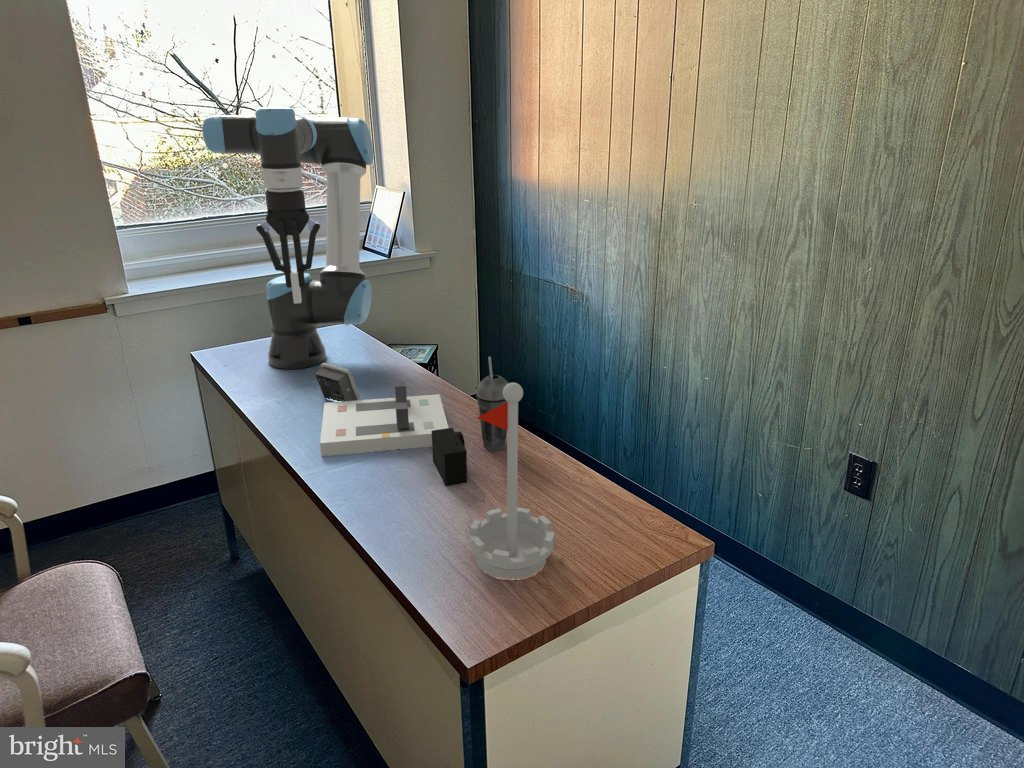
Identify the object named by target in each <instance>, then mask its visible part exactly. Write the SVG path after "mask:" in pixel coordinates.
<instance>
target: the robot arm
mask: <svg viewBox="0 0 1024 768" xmlns="http://www.w3.org/2000/svg"><path fill="white" fill-rule="evenodd" d="M254 113H255V115H222V114H219V115H208V116H207V117H205V118H204V120H203V123H202V137H203V142H204V144H205V146H206V148H207V149H208V150H209V151H210V152H211V153H214V154H224V155H228V154H241V155H246V154H250V155H260V156H259V157H260V163H261V170H262V172H261V173H262V180H263V187H264V188H265V189H267V190H266V191H265V193H264V194H265V203H266V209H267V210H266V211H267V212H266V217H265V220H264V221H262V222H261V223H258V224H257V225H256V228H255V230H256V231H257V233H258V234H259V235H260V236H261V237H262V240H263V242H264V244H265V247H266V249H267V252H268V254H269V257H270V260H271V262H272V265H273V267H274V269H275V271H277V272H278V271H279V272H283V274H284V275H281V276H278V277H274V278H272V279H270V280H269V281H268V282H267V284H266V286H265V288H266V290H265V291H266V302H267V309H268V315H269V323H270V327H271V328H270V330H271V337H270V344H269V347H268V354H267V358H268V359H267V360H268V364H269V365H270V366H271V367H274V368H277V369H283V370H297V369H304V368H305V369H306V368H309V367H314V366H317V365H318V364H322V363H324V362H325V360H326V358H327V354H326V348H325V346H324V343H323V341H322V339H321V336H320V335H319V332H318V329H317V325H345V326H349V325H360V324H363V323H364V322H365V321H366V320H367V319H368V316H369V313H370V310H371V306H372V300H373V299H372V297H373V292H372V291H373V290H372V284H371V282H370V281H369V280H368V279H366V274H365V272H363V271H362V269H361V268H360V240H361V238H360V232H361V230H360V226H361V178H362V177H363V176H365V174H366V173H367V166H370V165H372V164H373V163H374V147H373V142H372V141H373V140H372V138H371V137H372V136H371V132H370V129H369V127H368V124H367V123H366V121H365V120H363V119H362V118H359V117H349V116H345V117H320V116H319V117H311V116H309V117H305V116H303V115H300V114H296V113H295V110H294V109H293V108H292V107H289V106H288V107H287V106H265V107H264V106H263V107H258V108H257V109H255V112H254ZM301 163H303V164H304V163H305V164H313V165H315V164H316V165H320V166H321V167H320V169H321V171H322V172H323V173H324V174H325V175H326V236H325V237H326V241H325V242H326V244H325V245H326V247H325V248H326V249H325V250H326V251H325V254H326V255H325V257H326V258H325V267H323V268H322V270H320V272H319V279H312V278H313V277H312V276H311V274H310V273H309V272H308V273H307V272H305V271H307V270H311V268H312V266H313V259H314V258H313V257H314V251H315V245H316V239H317V237H316V236H317V234H318V232H319V231H320V228H321V223H320V222H319V221H315V220H313V219H312V218H310V215H309V213H308V212H307V210H306V209H307V208H306V202H305V200H306V199H305V191H304V190H303V189H302V187H303V186H304V180H303V171H302V164H301ZM307 224H308V228H307V229H308V230H309V231H310V232H309V237H308V238H309V239H308V245H307V250H306V251H307V254H306V260H305V262H304V261H303V253H302V252H303V250H302V244H301V234H302V232H303V230H304V229H305V227H306V226H307ZM269 226H270V227H271V228H272V230H273V231H275V233H276V234H277V235H278V236H279V241H280V247H281V256H282V257H281V259H282V262H281V260H280V257H279V255H278V252H277V250H276V247H275V243H274V241H273V239H272V235H271V234H270V232H269V231H270V227H269ZM288 236H292V240H293V241H292V242H293V248H294V256H295V258H294V259H295V265H296V266H295V267H296V270H292V265H291V257H290V249H289V242H288Z"/></svg>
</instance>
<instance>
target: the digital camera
mask: <svg viewBox="0 0 1024 768" xmlns="http://www.w3.org/2000/svg"><path fill="white" fill-rule="evenodd" d="M431 452H432V462H433V464H434V466H435V468H436V471H437V472H438V474H439V476H440V478H441V480H442V482H443V484H444V487H450V486H456V485H463V484H467V483H468V458H467V457H468V453H467V449H466V443H465V437H464V434H463V432H462V431H455V430H454V428H453V427H448V428H446V429H439V430H433V431H432V448H431Z"/></svg>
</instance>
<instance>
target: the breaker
mask: <svg viewBox="0 0 1024 768" xmlns="http://www.w3.org/2000/svg"><path fill="white" fill-rule="evenodd" d="M393 383H394V398H395V399H396V403H404V402H407V397H408V396H407V385H406V383H407V382H406V380H396V381H393Z"/></svg>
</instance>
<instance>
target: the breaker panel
mask: <svg viewBox="0 0 1024 768" xmlns="http://www.w3.org/2000/svg"><path fill="white" fill-rule="evenodd" d="M342 401H343V400H342ZM395 403H396V399H395V397H387V398H371V399H361V400H356V401H343V402H331V401H329V402H324V404H323V413H322V414H323V415H322V422H321V431H320V440H319V445H320V447H319V448H320V454H321V455H320V456H321V457H331V456H342V455H354V454H364V453H375V452H374V451H377V452H387V450H389V451H398V450H397V449H400V450H408V449H410V448H411V449H421V448H431V447H432V431H433V430H439V429H446V428H449V424H448V422H447V418H446V414H445V409H444V406H443V402H442V399H441V395H440V394H439V393H438V394H426V395H424V394H423V395H413V396H411V395H410V396H407V406H408V419H409V428H401V429H397V421H396V406H395Z"/></svg>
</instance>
